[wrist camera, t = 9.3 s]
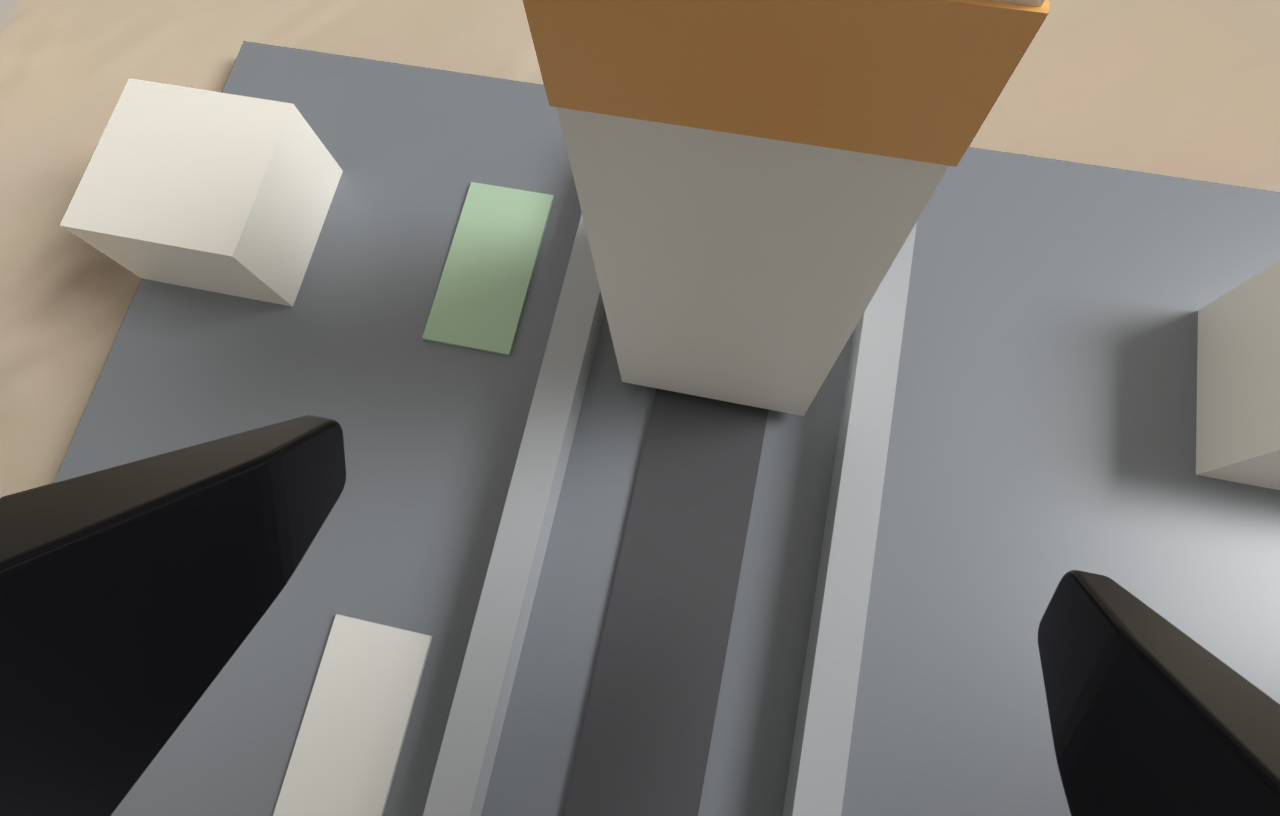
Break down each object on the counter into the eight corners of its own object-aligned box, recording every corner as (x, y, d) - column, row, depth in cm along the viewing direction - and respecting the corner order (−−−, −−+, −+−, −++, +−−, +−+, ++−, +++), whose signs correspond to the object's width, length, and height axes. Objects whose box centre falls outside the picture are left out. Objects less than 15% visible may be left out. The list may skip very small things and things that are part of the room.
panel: (1418, 1354, 12) (1661, 1593, 9) (-101, 902, 15) (-293, 971, 12) (1360, 221, 17) (1499, 138, 14) (256, 58, 20) (184, -39, 17)
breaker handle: (806, 419, 15) (1084, -48, 5) (619, 383, 16) (494, -118, 5) (831, 257, 16) (1110, -428, 6) (655, 228, 17) (611, -460, 6)
